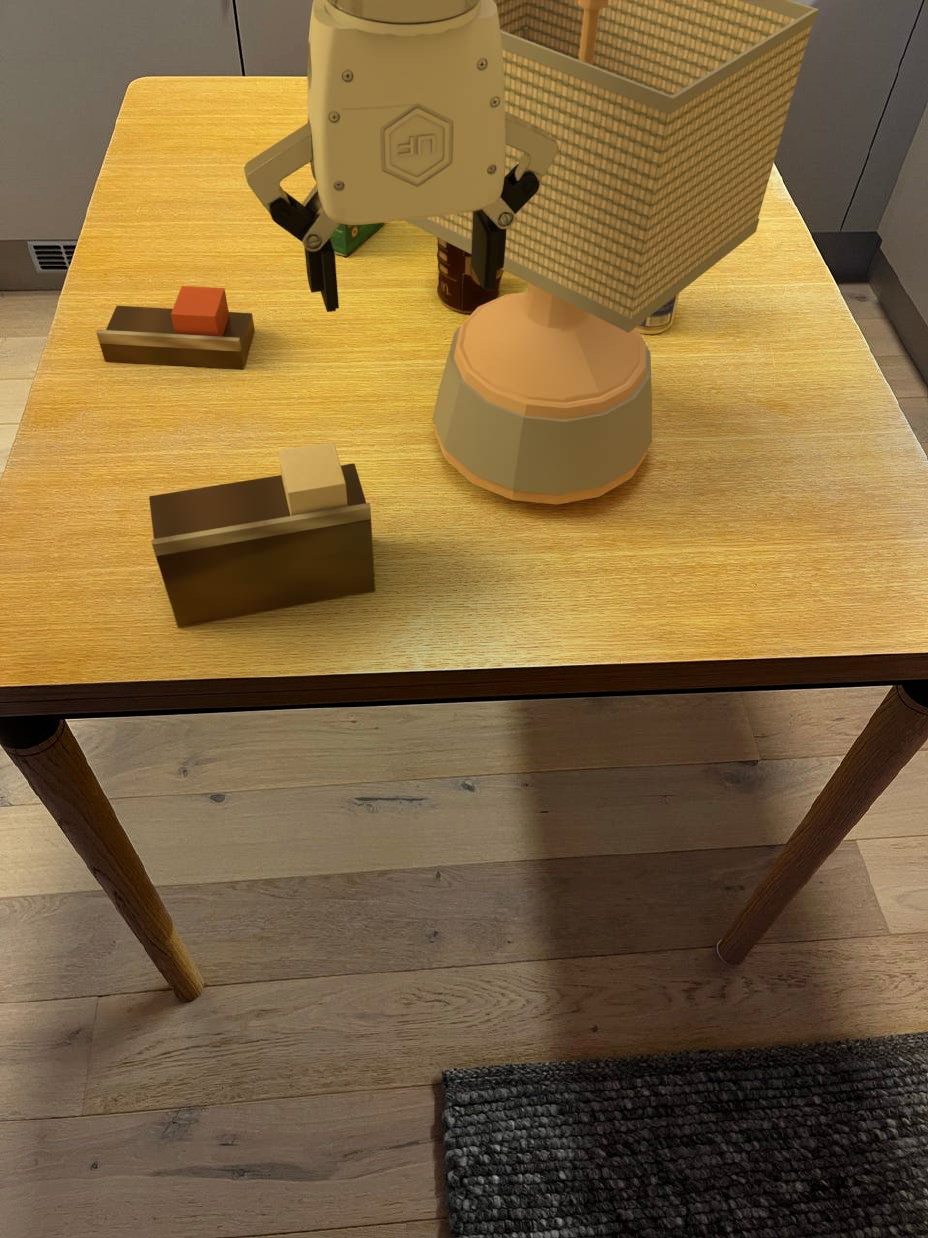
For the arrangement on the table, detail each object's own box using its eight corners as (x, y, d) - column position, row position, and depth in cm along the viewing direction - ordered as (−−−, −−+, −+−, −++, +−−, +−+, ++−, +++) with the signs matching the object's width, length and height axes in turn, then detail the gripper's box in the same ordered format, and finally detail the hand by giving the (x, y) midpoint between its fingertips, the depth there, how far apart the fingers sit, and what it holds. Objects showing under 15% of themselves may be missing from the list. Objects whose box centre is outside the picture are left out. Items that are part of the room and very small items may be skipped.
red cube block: (229, 315, 95) (224, 287, 93) (220, 344, 92) (215, 316, 90) (187, 313, 95) (181, 285, 93) (177, 341, 92) (170, 313, 90)
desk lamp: (702, 445, 89) (835, -16, 60) (575, 566, 80) (660, 89, 51) (510, 343, 97) (547, -105, 68) (375, 442, 88) (352, -29, 59)
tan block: (336, 472, 74) (333, 441, 71) (348, 513, 71) (345, 483, 69) (282, 480, 73) (277, 449, 71) (292, 523, 70) (287, 492, 68)
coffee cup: (525, 286, 103) (537, 163, 93) (492, 330, 98) (501, 205, 88) (449, 264, 105) (452, 141, 95) (413, 305, 101) (412, 181, 90)
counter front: (359, 536, 81) (353, 450, 74) (375, 591, 77) (370, 507, 70) (170, 569, 78) (145, 483, 71) (178, 628, 75) (151, 544, 67)
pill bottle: (627, 299, 102) (642, 218, 96) (677, 311, 101) (696, 230, 94) (613, 328, 99) (628, 246, 92) (665, 341, 98) (683, 259, 91)
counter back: (255, 330, 97) (250, 301, 95) (243, 369, 94) (238, 340, 91) (121, 322, 97) (113, 294, 95) (104, 361, 94) (95, 332, 91)
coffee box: (365, 215, 111) (359, 93, 100) (387, 223, 110) (384, 100, 100) (324, 250, 106) (313, 125, 96) (347, 258, 105) (338, 133, 95)
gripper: (228, 16, 44) (273, 344, 57) (601, -11, 47) (561, 305, 60) (208, -48, 48) (255, 271, 61) (550, -68, 51) (524, 238, 65)
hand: (406, 288), depth 61 cm, fingers open, 9 cm apart
